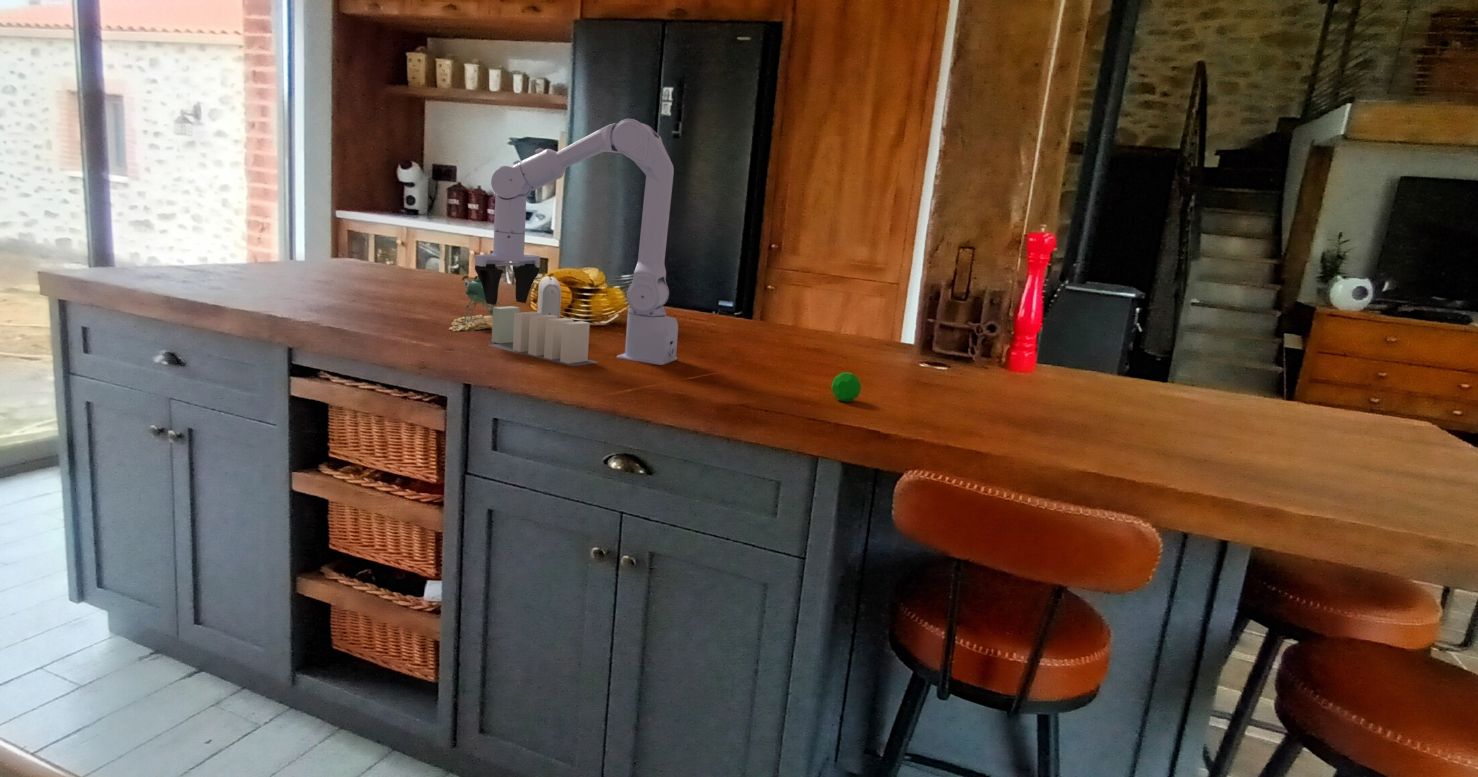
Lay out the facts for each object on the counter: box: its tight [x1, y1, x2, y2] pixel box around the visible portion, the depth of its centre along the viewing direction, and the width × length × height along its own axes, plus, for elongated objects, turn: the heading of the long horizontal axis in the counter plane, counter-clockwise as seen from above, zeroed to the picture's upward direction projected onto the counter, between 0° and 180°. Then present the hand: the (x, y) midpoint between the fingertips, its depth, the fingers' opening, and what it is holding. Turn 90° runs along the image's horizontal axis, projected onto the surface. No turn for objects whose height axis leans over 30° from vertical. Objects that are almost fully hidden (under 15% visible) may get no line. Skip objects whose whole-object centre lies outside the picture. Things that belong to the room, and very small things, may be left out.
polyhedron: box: [831, 371, 862, 403], centre depth 148 cm, size 5×5×5 cm
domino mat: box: [486, 342, 600, 367], centre depth 162 cm, size 22×7×1 cm, turn 57°
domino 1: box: [513, 311, 542, 352], centre depth 163 cm, size 2×5×7 cm, turn 147°
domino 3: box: [544, 317, 574, 360], centre depth 159 cm, size 2×5×7 cm, turn 148°
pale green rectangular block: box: [491, 305, 521, 344], centre depth 169 cm, size 2×5×7 cm, turn 147°
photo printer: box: [537, 275, 562, 319], centre depth 182 cm, size 10×4×12 cm, turn 17°
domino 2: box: [528, 315, 557, 356], centre depth 161 cm, size 2×5×7 cm, turn 148°
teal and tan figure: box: [448, 275, 501, 332], centre depth 184 cm, size 10×18×15 cm, turn 155°
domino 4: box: [560, 320, 591, 364], centre depth 157 cm, size 2×5×7 cm, turn 147°
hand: (506, 303), depth 169 cm, fingers open, 7 cm apart
